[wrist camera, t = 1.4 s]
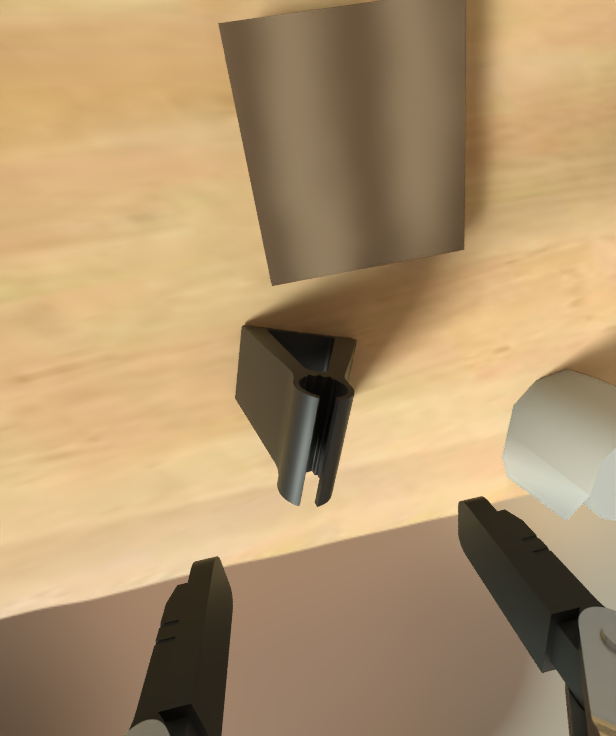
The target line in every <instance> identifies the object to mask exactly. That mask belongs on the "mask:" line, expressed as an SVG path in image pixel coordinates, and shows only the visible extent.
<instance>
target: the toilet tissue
mask: <svg viewBox="0 0 616 736" xmlns="http://www.w3.org/2000/svg"><path fill="white" fill-rule="evenodd" d="M502 459H503V463H504V468H505V472H506V476H507V477H508V478H509V479H510V480H512V481H513V482H514V483H516V484H517V485H518V486H520V487H521V488H522V489H524V490H525V491H526V492H528V493H529V494H530V495H532V496H533V497H535V498H536V499H537V500H539V501H540V502H541V503H543V504H544V505H545V506H547V507H548V508H549V509H551V510H552V511H553V512H555V513H556V514H557V515H559V516H560V517H562V518H563V519H564V520H566V521H567V520H568V519H569V518H570V516H572V514H573V513H574V512H575V511H576V510H577V509H578V508H579V507H580V506H581V505H582V504H584V505H586V506H587V507H588V508H589V509H590V510H592V511H593V512H594V513H596V514H597V515H598V516H599V517H600V518H602V519H609V520H614V521H616V386H615V385H612V384H610V383H607V382H605V381H602V380H600V379H597V378H595V377H592V376H589V375H585V374H582V373H579V372H575V371H572V370H568V369H565V370H563V371H560V372H557V373H555V374H552V375H549V376H547V377H544V378H541V379H539V380H536V381H535V382H534V383H533V384H532V386H531V387H530V388H529V389H528V390H527V391H526V392H525V393H524V394H523V395H522V397H521V398H520V399H519V400H518V401H517V402H516V403H515V404H514V406H513V410H512V415H511V419H510V424H509V428H508V433H507V437H506V442H505V446H504V451H503V455H502Z"/></svg>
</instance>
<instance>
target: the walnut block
mask: <svg viewBox="0 0 616 736" xmlns="http://www.w3.org/2000/svg"><path fill="white" fill-rule="evenodd" d="M218 24H219V29H220V34H221V39H222V44H223V48H224V53H225V58H226V63H227V68H228V73H229V78H230V83H231V88H232V93H233V97H234V102H235V107H236V112H237V117H238V122H239V127H240V132H241V137H242V141H243V146H244V151H245V156H246V161H247V166H248V171H249V176H250V181H251V185H252V190H253V195H254V200H255V205H256V210H257V215H258V220H259V225H260V229H261V234H262V239H263V244H264V249H265V254H266V259H267V264H268V269H269V273H270V278H271V283H272V286H274V285H280V284H285V283H290V282H296V281H301V280H306V279H312V278H317V277H322V276H327V275H333V274H338V273H343V272H349V271H354V270H359V269H365V268H370V267H375V266H380V265H386V264H391V263H396V262H402V261H407V260H412V259H417V258H423V257H428V256H433V255H439V254H444V253H449V252H455V251H460V250H464V202H465V69H466V0H382V1H375V2H367V3H360V4H353V5H346V6H339V7H332V8H325V9H318V10H310V11H303V12H296V13H289V14H282V15H275V16H268V17H261V18H253V19H246V20H239V21H232V22H225V23H218Z"/></svg>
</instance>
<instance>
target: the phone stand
mask: <svg viewBox="0 0 616 736" xmlns="http://www.w3.org/2000/svg"><path fill="white" fill-rule="evenodd" d="M356 342H357V340H356V339H352V338H344V337H336V336H328V335H320V334H312V333H304V332H303V333H300V332H296V331H288V330H280V329H272V328H264V327H255V326H247V325H243V326H242V330H241V341H240V352H239V363H238V373H237V384H236V395H235V399H236V400H237V402H238V404H239V405H240V407H241V408H242V410H243V412H244V413H245V415H246V417H247V418H248V420H249V421H250V423H251V425H252V426H253V428H254V429H255V431H256V433H257V434H258V436H259V438H260V439H261V441H262V442H263V444H264V446H265V447H266V449H267V450H268V452H269V454H270V455H271V457H272V459H273V460H274V462H275V464H276V466H277V468H278V474H279V476H278V482H277V487H278V490H279V492H280V494H281V495H282V497H283V498H284V499H286V500H287V501H288V502H290V503H292V504H294V505H297V506H299V505H300V501H301V496H302V491H303V485H304V480H305V474H306V472H309V471H312V472H313V473H314V475H318V477H319V478H320V480H319V484H318V489H317V494H316V499H315V504H316V506H317V507H318V506H321V505H323V504H325V503H327V502H328V501H329V499H330V498H331V496H332V492H333V487H334V483H335V478H336V474H337V469H338V465H339V460H340V456H341V451H342V447H343V442H344V438H345V433H346V429H347V424H348V420H349V415H350V411H351V406H352V402H353V397H354V389H353V388H352V387H351V386H350V385H349V384H348V380H349V375H350V370H351V366H352V361H353V356H354V352H355V347H356Z"/></svg>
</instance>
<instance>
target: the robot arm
mask: <svg viewBox="0 0 616 736" xmlns="http://www.w3.org/2000/svg"><path fill="white" fill-rule="evenodd" d="M458 535H459V540H460V544H461V546H462V548H463V551H464V553H465V555H466V556H467V558H468V559H469V561H470V562H471V564H472V566H473V567H474V569H475V570H476V572H477V573H478V575H479V576H480V578H481V579H482V581H483V583H484V584H485V586H486V587H487V589H488V590H489V592H490V593H491V595H492V596H493V598H494V599H495V601H496V602H497V604H498V606H499V607H500V609H501V610H502V612H503V613H504V615H505V617H506V618H507V620H508V621H509V623H510V624H511V626H512V627H513V629H514V630H515V632H516V633H517V635H518V637H519V638H520V640H521V641H522V643H523V644H524V646H525V647H526V649H527V650H528V652H529V654H530V655H531V657H532V658H533V660H534V661H535V663H536V664H537V666H538V667H539V669H540V671H541V672H542V673H544V672H547V671H551V670H555V669H556V670H557V671H558V673H559V674H560V675H561V677H562V678H563V680H564V681H565V694H566V705H567V716H568V725H569V736H616V611H614V610H612V609H608V608H606V607H604V606H603V605H602V604H601V603H600V602H599V601H597V599H596V598H595V597H594V596H593V595H592V594H591V593H590V592H589V591H588V590H587V589H586V588H585V587H584V586H583V584H582V583H581V582H579V580H578V579H577V578H576V577H575V576H574V575H573V574H572V573H571V572H570V571H569V570H568V568H567V567H566V566H565V565H564V564H563V563H562V562H561V561H560V560H559V559H558V558H557V557H556V556H555V555H554V554H553V552H552V551H549V549H548V547H547V546H546V545H545V544H544V543H543V542H542V541H541V540H540V539H539V538H537V536H536V534H535V533H534V532H533V531H532V530H531V529H530V528H529V527H528V526H527V525H526V524H525V522H524V521H523V520H521V519H519V518H518V517H516V516H515V515H513V514H511V513H510V512H508V511H506V510H501V511H496V509H495V508H494V507H493V506H492V505H491V504H490V502H489V501H488V500H487V499H486V498H484V497H482V496H481V497H476V498H472V499H468V500H463V501H460V502H459V504H458ZM232 612H233V599H232V592H231V587H230V584H229V582H228V579H227V576H226V574H225V571H224V568H223V566H222V563H221V560H220V558H219V557H218V556H217V557H212V558H208V559H204V560H199V561H195V562H194V563H193V564H192V567H191V571H190V575H189V580H188V583H185V584H181V585H177V587H176V588H175V590H174V592H173V593H172V595H171V597H170V598H169V600H168V601H167V603H166V606H165V609H164V613H163V617H162V620H161V627H160V628H159V631H158V635H157V638H156V645H155V646H154V649H153V653H152V656H151V660H150V663H149V667H148V670H147V674H146V678H145V682H144V685H143V688H142V692H141V696H140V700H139V703H138V707H137V710H136V714H135V717H134V720H133V722H132V724H131V727H130V729H129V731H128V732H127V733H126V734H125V735H124V736H221V733H222V723H223V711H224V701H225V689H226V678H227V667H228V656H229V645H230V633H231V623H232Z"/></svg>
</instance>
